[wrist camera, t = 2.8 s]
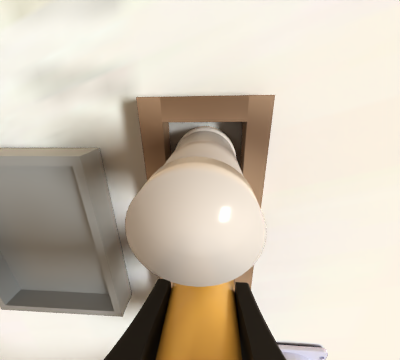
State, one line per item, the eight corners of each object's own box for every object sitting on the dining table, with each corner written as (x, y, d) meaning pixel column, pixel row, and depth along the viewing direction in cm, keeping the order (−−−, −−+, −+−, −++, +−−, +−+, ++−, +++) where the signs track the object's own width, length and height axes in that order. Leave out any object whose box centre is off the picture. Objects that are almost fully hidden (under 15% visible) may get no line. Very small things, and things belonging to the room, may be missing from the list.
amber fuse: (230, 274, 14) (249, 472, 7) (180, 272, 14) (143, 460, 7) (233, 233, 12) (262, 425, 5) (176, 231, 13) (126, 412, 5)
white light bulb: (232, 181, 13) (258, 289, 6) (178, 181, 13) (136, 284, 6) (235, 125, 12) (275, 171, 4) (175, 126, 12) (112, 170, 4)
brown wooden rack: (242, 321, 19) (244, 339, 17) (170, 317, 19) (167, 334, 18) (266, 95, 11) (275, 94, 9) (145, 97, 11) (136, 97, 10)
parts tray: (131, 294, 18) (122, 316, 16) (22, 288, 19) (1, 309, 17) (99, 148, 13) (79, 156, 11) (-53, 147, 13) (-96, 155, 12)
